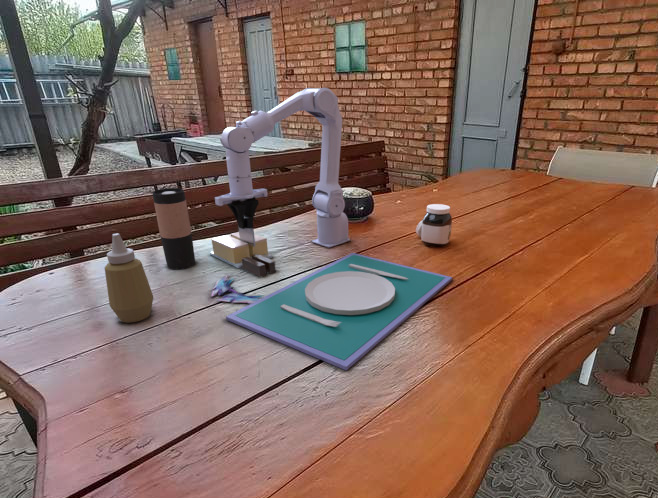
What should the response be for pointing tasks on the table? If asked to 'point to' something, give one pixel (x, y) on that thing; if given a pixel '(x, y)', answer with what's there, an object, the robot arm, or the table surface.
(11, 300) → the table surface
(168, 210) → the travel mug
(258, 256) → the stand
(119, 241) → the squeeze bottle
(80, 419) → the table surface
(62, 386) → the table surface
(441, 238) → the spread jar
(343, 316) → the place mat
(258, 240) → the cake
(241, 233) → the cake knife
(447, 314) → the table surface
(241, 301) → the decorative blades
